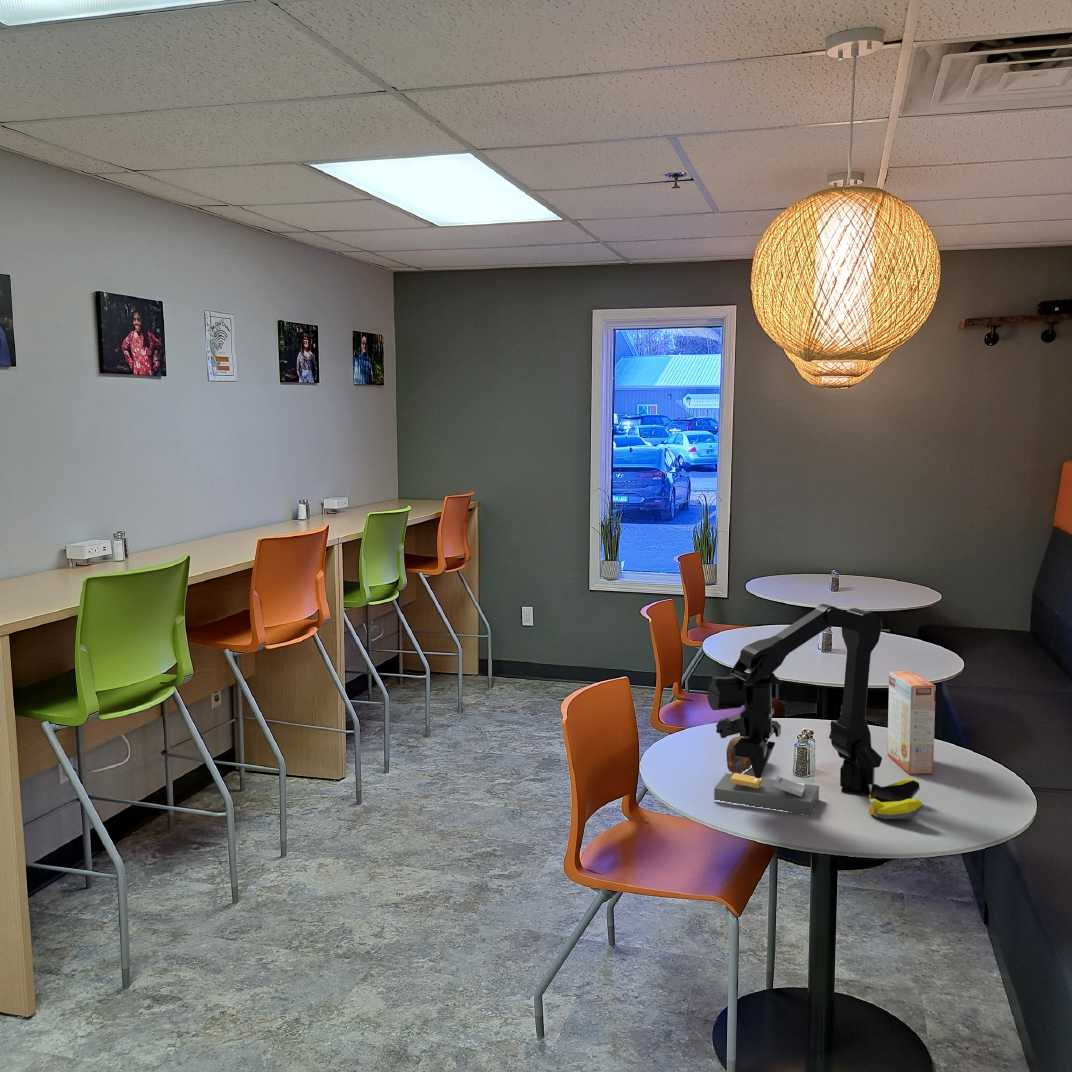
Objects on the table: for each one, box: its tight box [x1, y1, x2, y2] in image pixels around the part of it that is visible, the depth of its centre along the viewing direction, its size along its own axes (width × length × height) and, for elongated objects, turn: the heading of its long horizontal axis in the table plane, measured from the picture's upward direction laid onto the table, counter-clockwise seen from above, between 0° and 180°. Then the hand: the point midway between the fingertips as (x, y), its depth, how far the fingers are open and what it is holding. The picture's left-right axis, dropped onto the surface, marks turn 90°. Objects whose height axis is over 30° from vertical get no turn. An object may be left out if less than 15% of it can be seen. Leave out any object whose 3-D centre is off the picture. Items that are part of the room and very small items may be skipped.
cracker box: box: [887, 670, 936, 775], centre depth 218 cm, size 14×6×21 cm, turn 179°
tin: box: [726, 733, 751, 774], centre depth 218 cm, size 15×3×8 cm, turn 143°
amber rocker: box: [730, 773, 763, 788], centre depth 199 cm, size 6×4×1 cm, turn 64°
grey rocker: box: [773, 775, 805, 797], centre depth 195 cm, size 6×4×1 cm, turn 64°
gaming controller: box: [868, 777, 924, 820], centre depth 191 cm, size 15×6×10 cm
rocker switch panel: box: [713, 773, 820, 817], centre depth 199 cm, size 20×10×4 cm, turn 64°
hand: (758, 777), depth 198 cm, fingers closed
